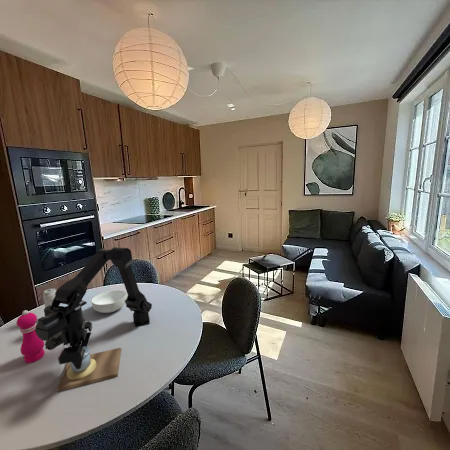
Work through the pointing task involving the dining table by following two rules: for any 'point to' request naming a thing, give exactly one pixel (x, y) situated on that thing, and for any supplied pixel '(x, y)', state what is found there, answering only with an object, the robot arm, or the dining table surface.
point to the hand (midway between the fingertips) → (80, 362)
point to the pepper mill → (30, 338)
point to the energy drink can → (49, 296)
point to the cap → (83, 361)
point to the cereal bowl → (109, 301)
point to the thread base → (92, 370)
